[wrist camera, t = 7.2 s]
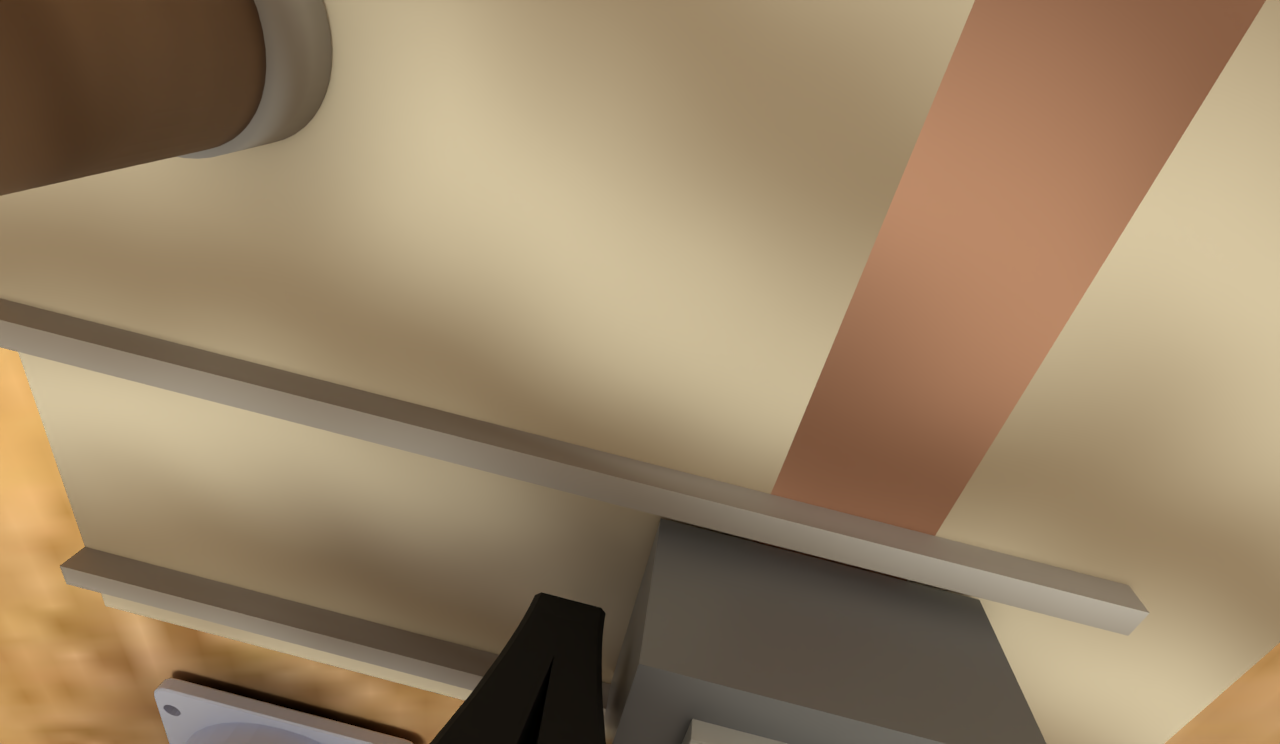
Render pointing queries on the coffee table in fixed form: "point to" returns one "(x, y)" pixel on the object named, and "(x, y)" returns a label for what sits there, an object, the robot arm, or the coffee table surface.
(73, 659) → the coffee table surface
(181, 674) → the coffee table surface
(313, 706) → the coffee table surface
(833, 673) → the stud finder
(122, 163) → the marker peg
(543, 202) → the cream ridged tray
